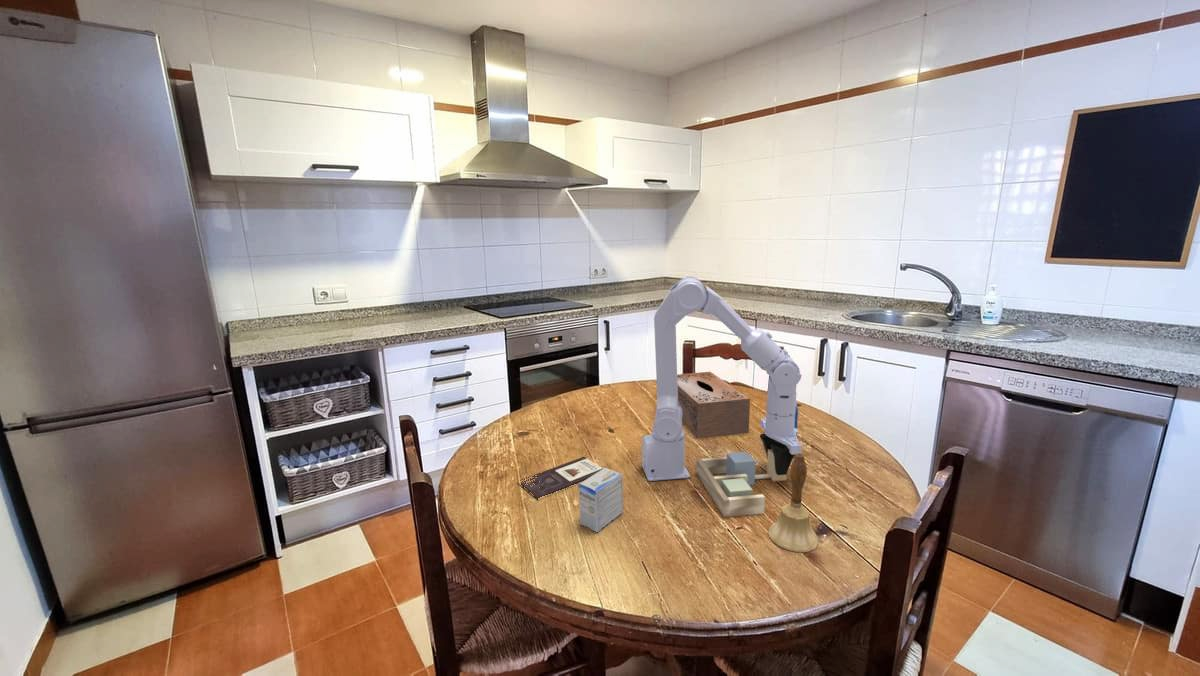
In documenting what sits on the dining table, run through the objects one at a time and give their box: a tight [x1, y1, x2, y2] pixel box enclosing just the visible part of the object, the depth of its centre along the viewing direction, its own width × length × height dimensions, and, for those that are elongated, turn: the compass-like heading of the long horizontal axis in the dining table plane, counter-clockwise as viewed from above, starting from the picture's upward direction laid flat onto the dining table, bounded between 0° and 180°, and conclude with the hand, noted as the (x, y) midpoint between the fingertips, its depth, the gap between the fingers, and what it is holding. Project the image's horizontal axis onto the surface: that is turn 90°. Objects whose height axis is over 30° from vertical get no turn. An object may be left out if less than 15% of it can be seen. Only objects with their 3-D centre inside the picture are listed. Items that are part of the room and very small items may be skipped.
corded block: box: [725, 449, 788, 486], centre depth 102 cm, size 12×4×6 cm, turn 96°
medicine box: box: [578, 467, 624, 533], centre depth 89 cm, size 8×4×9 cm, turn 141°
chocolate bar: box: [519, 456, 604, 499], centre depth 106 cm, size 9×1×18 cm
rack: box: [696, 456, 766, 518], centre depth 98 cm, size 8×17×4 cm, turn 6°
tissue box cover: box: [677, 371, 751, 439], centre depth 136 cm, size 26×14×10 cm, turn 11°
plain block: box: [722, 478, 753, 497], centre depth 94 cm, size 4×4×4 cm
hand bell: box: [767, 453, 820, 554], centre depth 81 cm, size 8×8×16 cm
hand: (777, 470), depth 103 cm, fingers closed on corded block, 3 cm apart
